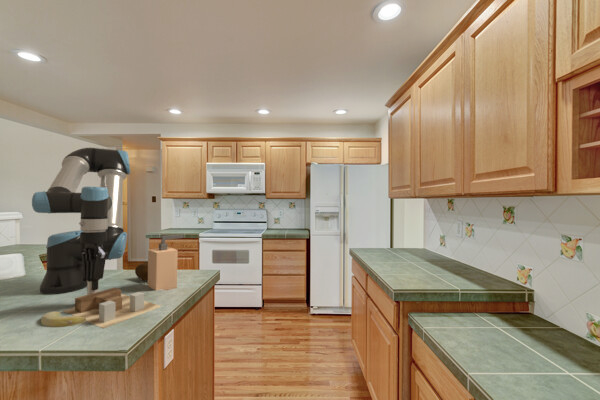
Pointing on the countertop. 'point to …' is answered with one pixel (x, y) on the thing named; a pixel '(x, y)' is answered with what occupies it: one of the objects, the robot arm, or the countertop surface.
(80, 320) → the fruit
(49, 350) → the countertop surface
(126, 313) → the board
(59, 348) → the countertop surface
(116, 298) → the tee
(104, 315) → the posts
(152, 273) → the pump bottle
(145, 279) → the potato
